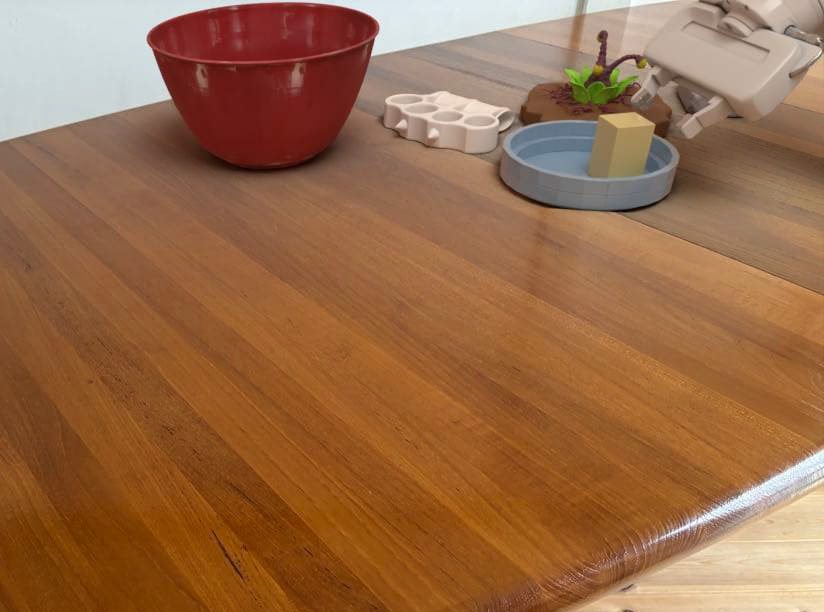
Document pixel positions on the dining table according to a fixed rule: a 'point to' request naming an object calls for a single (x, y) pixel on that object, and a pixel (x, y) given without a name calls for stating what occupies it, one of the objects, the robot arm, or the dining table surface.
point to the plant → (593, 95)
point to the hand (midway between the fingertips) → (657, 119)
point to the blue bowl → (580, 168)
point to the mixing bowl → (265, 77)
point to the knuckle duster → (447, 121)
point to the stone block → (694, 101)
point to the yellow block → (620, 146)
